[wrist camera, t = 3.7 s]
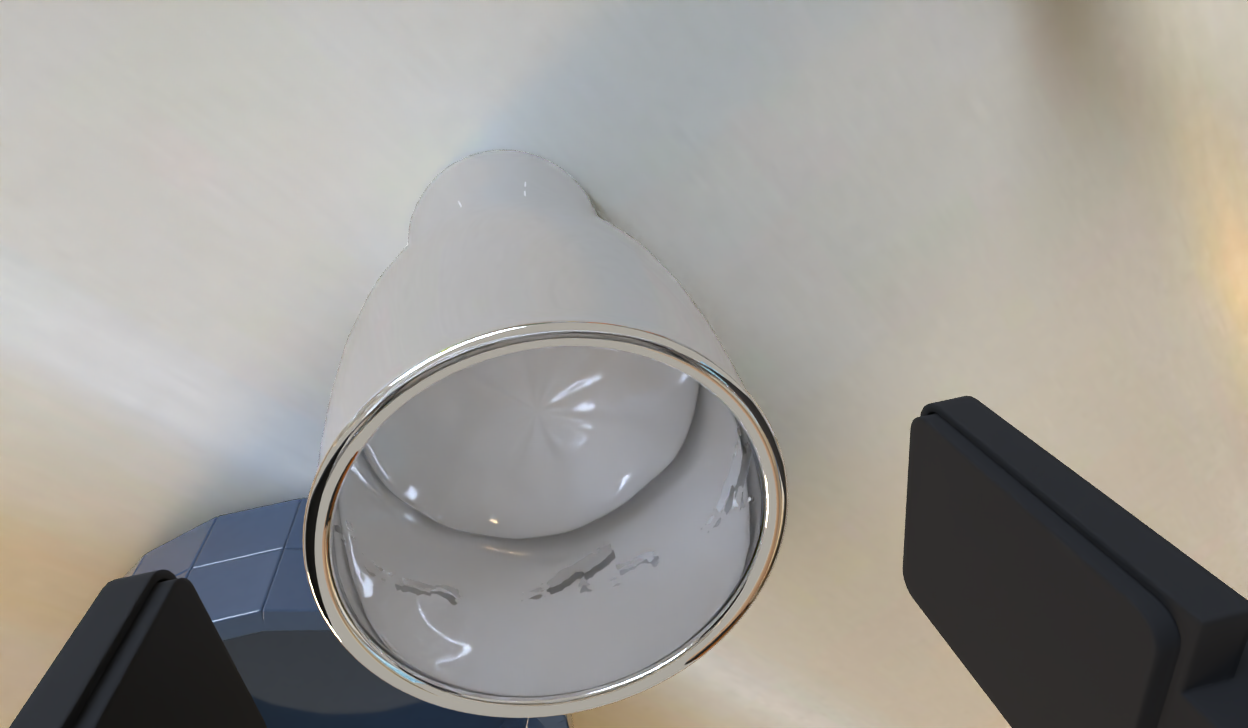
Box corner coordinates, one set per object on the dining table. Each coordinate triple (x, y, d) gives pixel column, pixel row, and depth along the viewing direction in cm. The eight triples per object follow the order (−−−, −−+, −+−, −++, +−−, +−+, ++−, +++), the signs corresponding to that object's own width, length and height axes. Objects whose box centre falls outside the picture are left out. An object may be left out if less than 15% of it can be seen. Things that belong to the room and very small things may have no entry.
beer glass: (653, 264, 24) (880, 554, 11) (490, 383, 25) (517, 794, 12) (526, 84, 21) (627, 183, 8) (344, 226, 22) (149, 540, 8)
